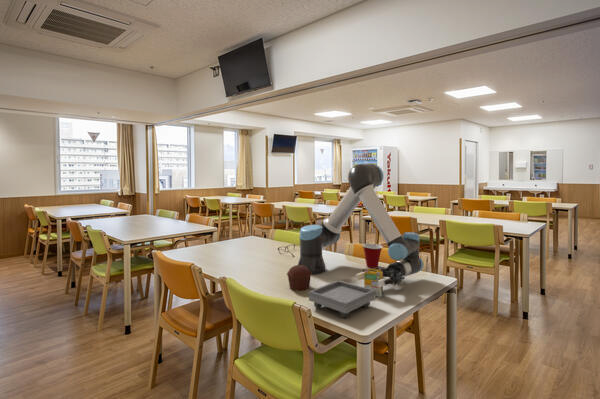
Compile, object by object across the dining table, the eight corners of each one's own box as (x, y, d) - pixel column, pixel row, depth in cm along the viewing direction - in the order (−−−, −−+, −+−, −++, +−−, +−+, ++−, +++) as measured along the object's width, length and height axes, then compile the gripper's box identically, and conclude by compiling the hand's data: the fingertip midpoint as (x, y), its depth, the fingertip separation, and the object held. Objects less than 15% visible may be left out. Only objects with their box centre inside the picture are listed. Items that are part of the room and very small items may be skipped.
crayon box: (383, 294, 145) (383, 267, 144) (381, 297, 142) (381, 269, 141) (365, 292, 148) (365, 266, 147) (364, 294, 145) (364, 268, 144)
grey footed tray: (309, 307, 133) (308, 291, 132) (338, 295, 145) (338, 280, 145) (346, 321, 120) (346, 303, 119) (375, 306, 132) (375, 290, 132)
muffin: (315, 290, 152) (315, 268, 151) (291, 293, 148) (290, 270, 148) (307, 282, 163) (306, 261, 162) (284, 284, 160) (284, 263, 159)
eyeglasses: (295, 249, 232) (295, 243, 232) (311, 253, 221) (311, 247, 220) (276, 253, 221) (276, 247, 221) (292, 258, 209) (292, 251, 209)
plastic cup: (383, 270, 180) (383, 247, 179) (362, 269, 182) (362, 247, 181) (382, 264, 190) (382, 243, 189) (362, 263, 192) (362, 242, 191)
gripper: (421, 284, 147) (390, 297, 133) (378, 272, 165) (346, 282, 151) (422, 267, 146) (391, 278, 132) (377, 257, 164) (346, 266, 150)
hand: (367, 280), depth 142 cm, fingers open, 11 cm apart
